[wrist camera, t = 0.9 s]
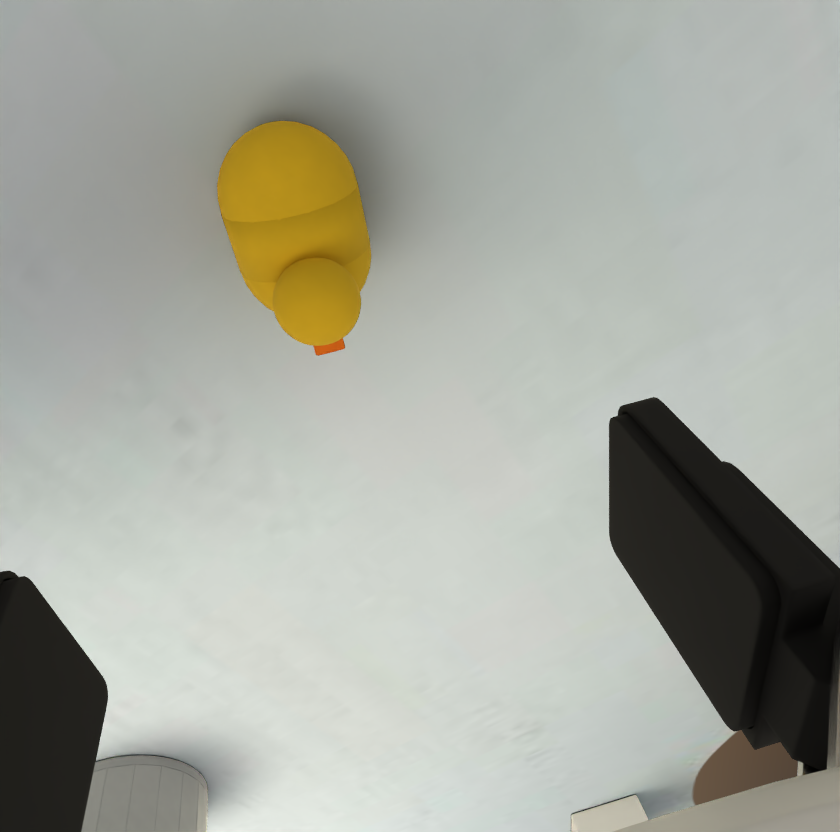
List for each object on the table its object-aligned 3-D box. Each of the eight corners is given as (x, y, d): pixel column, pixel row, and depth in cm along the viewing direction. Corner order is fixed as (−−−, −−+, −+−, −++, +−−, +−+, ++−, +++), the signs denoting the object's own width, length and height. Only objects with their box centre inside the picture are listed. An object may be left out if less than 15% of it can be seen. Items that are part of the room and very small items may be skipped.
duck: (200, 126, 22) (186, 168, 17) (333, 98, 23) (360, 130, 17) (260, 308, 26) (264, 388, 21) (372, 280, 26) (404, 352, 21)
